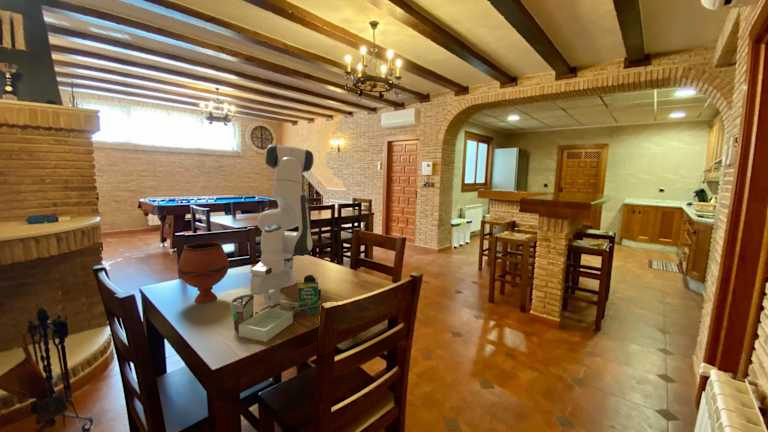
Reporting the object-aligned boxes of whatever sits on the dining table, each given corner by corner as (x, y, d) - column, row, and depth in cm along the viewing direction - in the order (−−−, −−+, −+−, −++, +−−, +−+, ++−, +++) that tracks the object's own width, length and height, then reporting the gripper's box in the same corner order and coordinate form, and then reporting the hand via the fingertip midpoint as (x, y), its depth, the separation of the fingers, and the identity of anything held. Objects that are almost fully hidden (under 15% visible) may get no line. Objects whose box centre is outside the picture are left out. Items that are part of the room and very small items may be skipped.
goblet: (169, 304, 133) (166, 246, 130) (209, 289, 151) (207, 238, 148) (201, 312, 126) (198, 251, 123) (239, 296, 144) (237, 242, 141)
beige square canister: (304, 306, 134) (304, 279, 133) (300, 300, 141) (300, 274, 139) (320, 303, 138) (321, 277, 136) (316, 298, 144) (316, 272, 143)
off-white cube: (264, 303, 128) (264, 292, 127) (271, 300, 132) (271, 289, 131) (272, 305, 127) (272, 293, 126) (279, 302, 130) (279, 290, 130)
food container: (238, 318, 121) (237, 293, 120) (254, 318, 122) (254, 293, 121) (224, 333, 109) (223, 306, 108) (243, 333, 110) (242, 306, 109)
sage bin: (238, 336, 108) (238, 325, 108) (268, 317, 123) (268, 307, 122) (265, 341, 105) (265, 330, 104) (292, 322, 119) (292, 312, 119)
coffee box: (297, 315, 125) (297, 283, 124) (298, 312, 128) (298, 281, 127) (317, 315, 126) (318, 283, 125) (318, 312, 129) (318, 281, 127)
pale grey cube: (280, 314, 126) (280, 306, 126) (283, 310, 130) (283, 302, 129) (289, 314, 126) (289, 306, 126) (291, 310, 130) (291, 302, 129)
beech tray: (255, 315, 125) (255, 311, 124) (276, 302, 137) (276, 299, 137) (284, 320, 120) (284, 317, 120) (303, 307, 133) (303, 304, 133)
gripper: (282, 258, 138) (282, 288, 140) (247, 270, 119) (247, 305, 121) (294, 260, 136) (294, 291, 138) (260, 273, 117) (260, 308, 119)
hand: (272, 298), depth 129 cm, fingers closed on off-white cube, 4 cm apart
